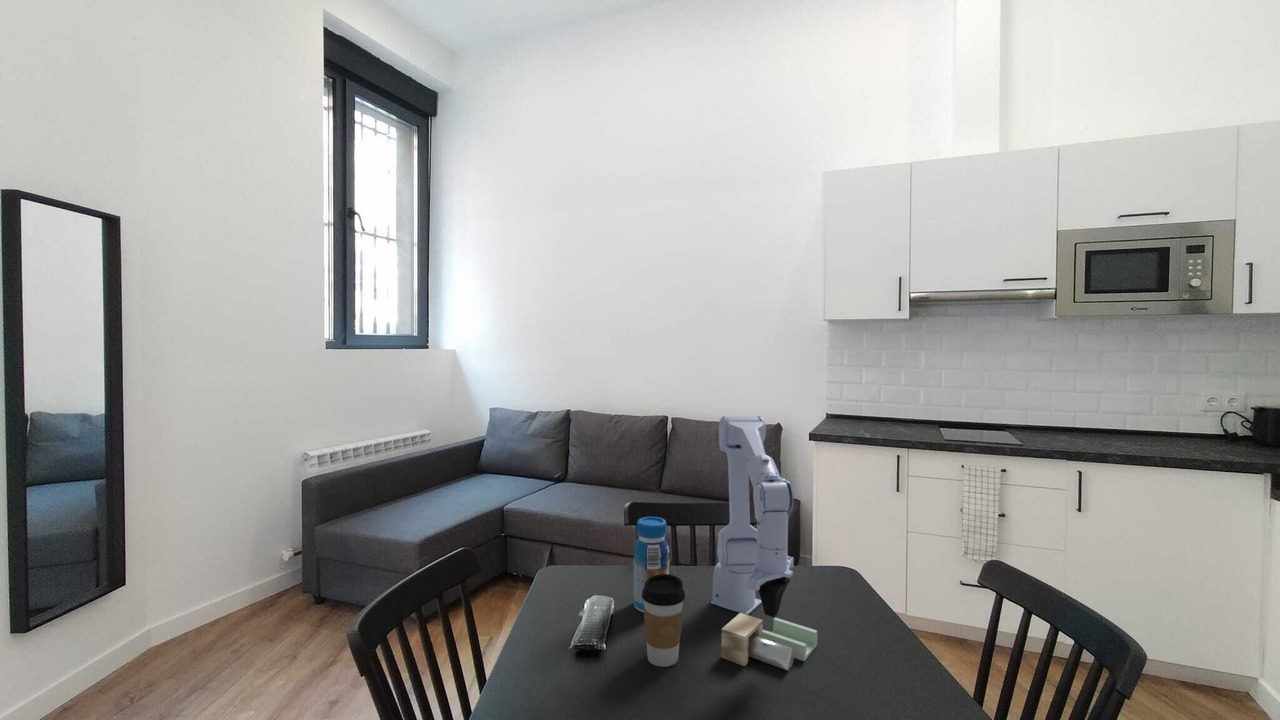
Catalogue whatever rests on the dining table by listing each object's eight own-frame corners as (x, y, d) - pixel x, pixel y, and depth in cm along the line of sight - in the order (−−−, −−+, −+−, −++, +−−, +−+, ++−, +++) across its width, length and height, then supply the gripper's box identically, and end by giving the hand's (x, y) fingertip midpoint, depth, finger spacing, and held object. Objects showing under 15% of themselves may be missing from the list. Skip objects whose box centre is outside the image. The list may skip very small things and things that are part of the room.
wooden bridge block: (721, 657, 111) (721, 628, 111) (739, 639, 118) (740, 612, 117) (744, 666, 108) (745, 637, 108) (762, 647, 115) (762, 620, 114)
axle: (726, 651, 113) (729, 629, 113) (735, 647, 116) (738, 627, 117) (784, 672, 106) (787, 649, 106) (792, 668, 109) (795, 646, 110)
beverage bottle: (625, 608, 131) (626, 522, 130) (645, 594, 138) (646, 512, 137) (657, 618, 126) (657, 529, 125) (676, 603, 133) (676, 519, 132)
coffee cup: (689, 650, 114) (690, 576, 113) (678, 674, 106) (678, 595, 105) (649, 643, 116) (649, 570, 116) (635, 665, 108) (635, 588, 108)
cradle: (760, 646, 115) (761, 631, 115) (775, 631, 121) (775, 617, 121) (804, 661, 110) (804, 646, 110) (817, 645, 116) (817, 630, 116)
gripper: (772, 561, 100) (771, 636, 101) (808, 539, 111) (807, 607, 112) (738, 551, 105) (737, 623, 105) (775, 531, 116) (774, 596, 116)
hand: (770, 614), depth 109 cm, fingers closed
